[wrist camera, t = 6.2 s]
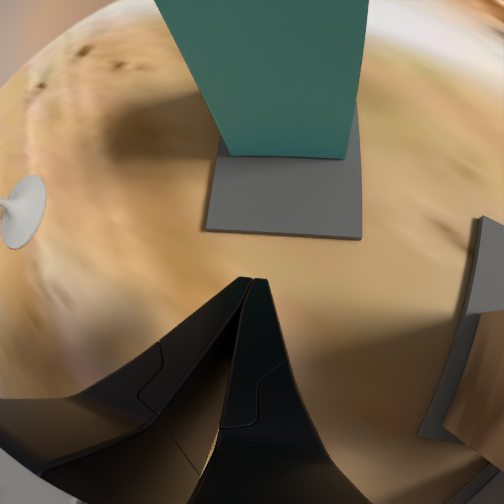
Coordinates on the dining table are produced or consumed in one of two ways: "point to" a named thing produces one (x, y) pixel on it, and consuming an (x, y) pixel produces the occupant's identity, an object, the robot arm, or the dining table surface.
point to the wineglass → (23, 211)
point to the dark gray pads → (350, 227)
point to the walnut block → (482, 393)
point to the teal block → (274, 70)
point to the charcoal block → (491, 492)
